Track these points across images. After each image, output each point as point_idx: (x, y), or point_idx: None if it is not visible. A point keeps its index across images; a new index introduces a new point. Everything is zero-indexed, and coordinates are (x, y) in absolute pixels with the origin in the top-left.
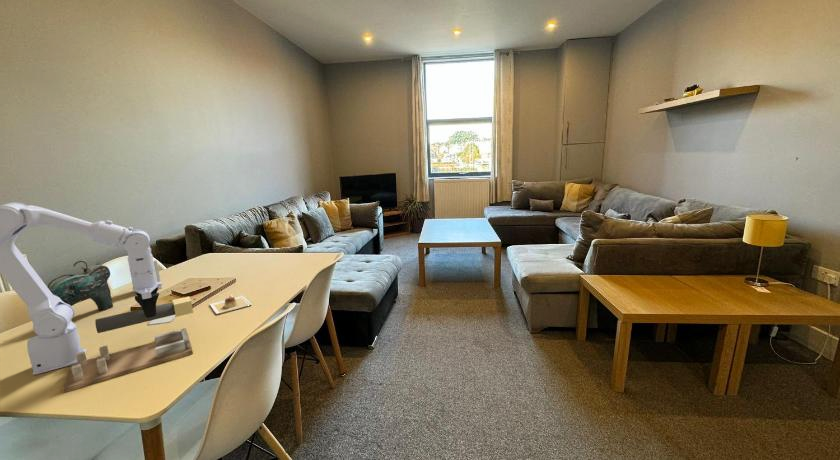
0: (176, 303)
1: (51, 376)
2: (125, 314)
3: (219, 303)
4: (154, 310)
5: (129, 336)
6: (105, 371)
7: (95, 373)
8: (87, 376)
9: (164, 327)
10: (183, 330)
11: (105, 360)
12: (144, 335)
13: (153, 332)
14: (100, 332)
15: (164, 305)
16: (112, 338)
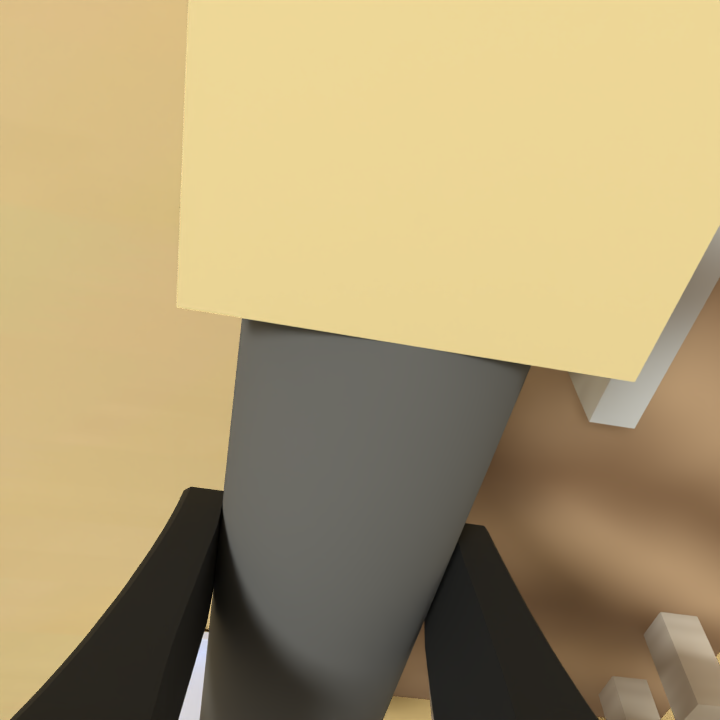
0: (598, 313)
1: (393, 716)
2: None
3: None
4: (519, 616)
5: (77, 438)
6: (697, 627)
7: (644, 647)
8: (635, 667)
9: (54, 171)
10: None
11: (694, 680)
12: (152, 356)
13: (132, 286)
14: None
15: (429, 492)
16: (28, 516)
